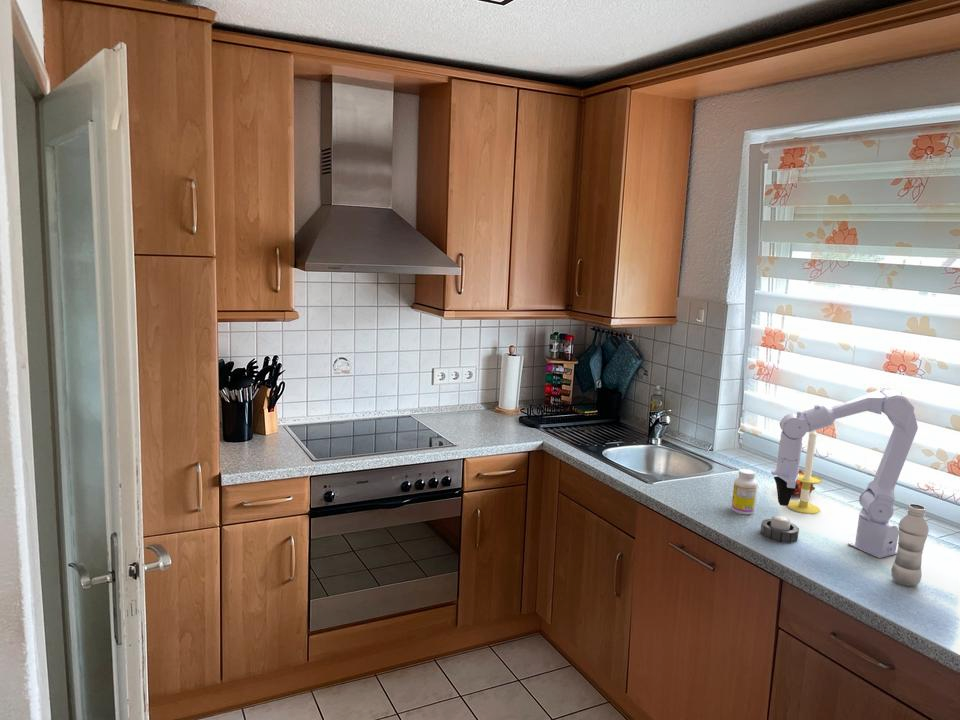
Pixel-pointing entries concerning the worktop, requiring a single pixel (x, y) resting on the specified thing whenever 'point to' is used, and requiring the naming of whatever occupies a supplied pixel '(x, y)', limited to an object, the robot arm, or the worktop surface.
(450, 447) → the worktop surface
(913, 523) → the plastic bottle
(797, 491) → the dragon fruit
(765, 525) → the segmented grey ring
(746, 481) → the supplement bottle
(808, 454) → the candle
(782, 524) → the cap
